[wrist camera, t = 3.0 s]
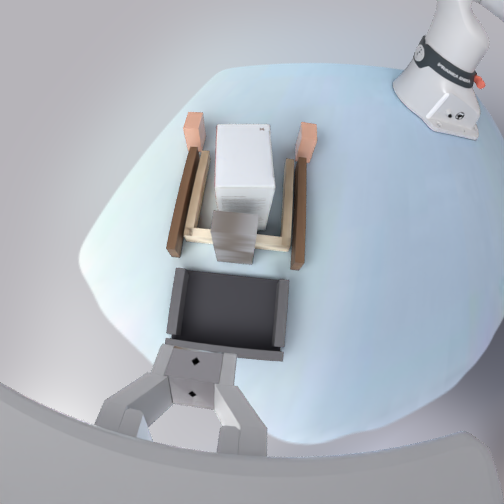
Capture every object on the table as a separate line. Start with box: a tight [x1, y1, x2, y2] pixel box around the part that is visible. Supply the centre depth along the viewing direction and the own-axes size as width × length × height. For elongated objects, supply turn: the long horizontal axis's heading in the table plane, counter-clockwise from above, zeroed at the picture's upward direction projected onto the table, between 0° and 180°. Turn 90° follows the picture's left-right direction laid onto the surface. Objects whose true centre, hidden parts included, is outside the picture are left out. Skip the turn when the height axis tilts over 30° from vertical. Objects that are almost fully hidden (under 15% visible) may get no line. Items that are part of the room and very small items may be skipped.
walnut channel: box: [166, 147, 306, 270], centre depth 35 cm, size 15×14×3 cm
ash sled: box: [184, 150, 294, 265], centre depth 31 cm, size 12×14×9 cm
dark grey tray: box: [165, 268, 289, 361], centre depth 30 cm, size 12×9×3 cm
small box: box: [214, 124, 276, 230], centre depth 31 cm, size 8×6×10 cm
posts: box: [183, 112, 317, 163], centre depth 37 cm, size 17×3×5 cm, turn 84°
